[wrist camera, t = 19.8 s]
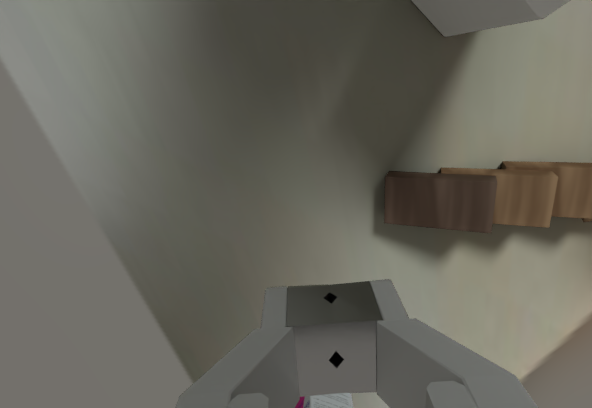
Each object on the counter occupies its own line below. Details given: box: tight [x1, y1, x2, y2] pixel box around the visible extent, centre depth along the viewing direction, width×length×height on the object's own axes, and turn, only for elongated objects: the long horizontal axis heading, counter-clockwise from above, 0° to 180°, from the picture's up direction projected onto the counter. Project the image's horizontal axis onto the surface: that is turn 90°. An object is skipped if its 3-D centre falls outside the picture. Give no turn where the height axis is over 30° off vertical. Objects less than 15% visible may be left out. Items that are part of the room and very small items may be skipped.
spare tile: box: [384, 171, 497, 233], centre depth 38 cm, size 2×5×10 cm
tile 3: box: [502, 161, 592, 219], centre depth 39 cm, size 2×5×10 cm
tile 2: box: [441, 168, 558, 228], centre depth 39 cm, size 2×5×10 cm
